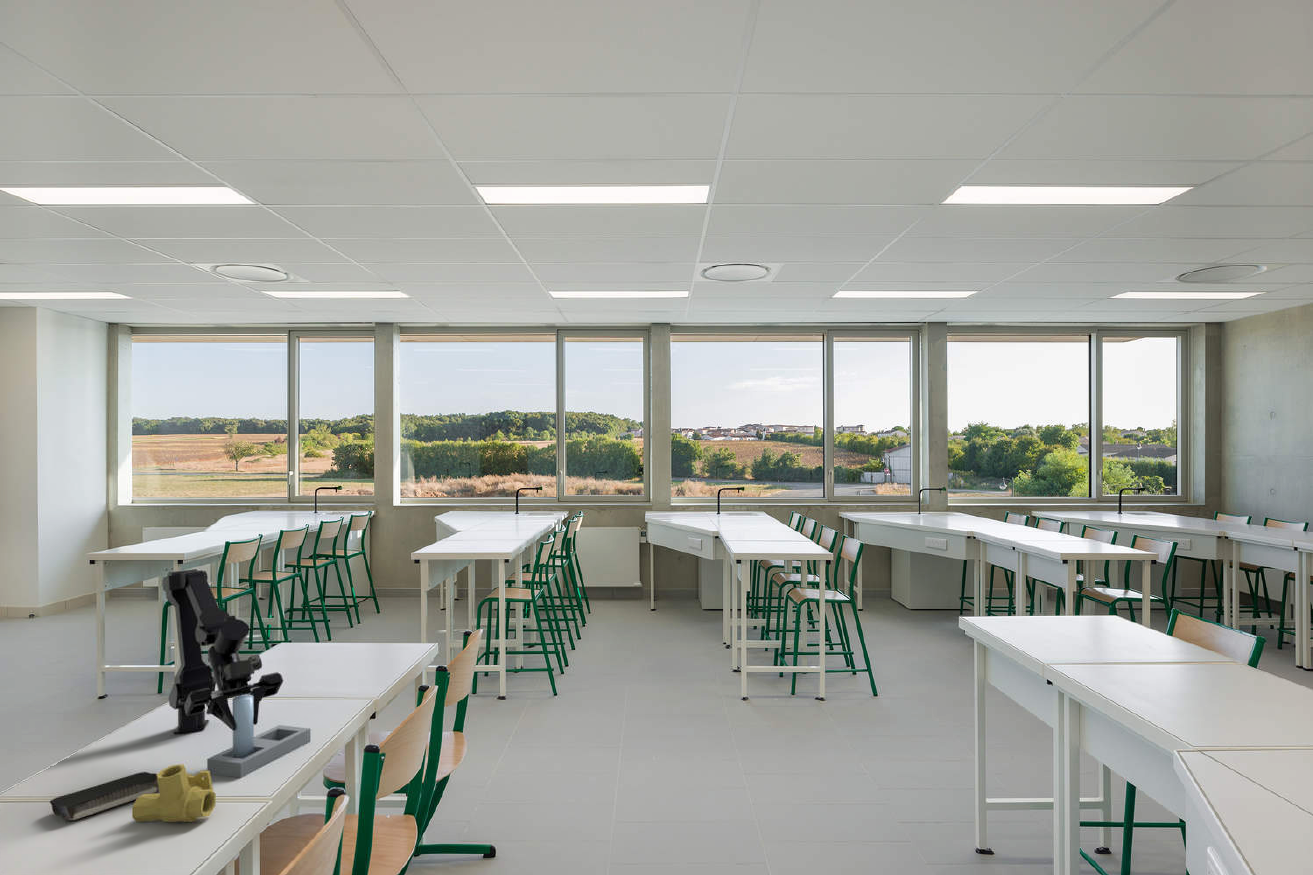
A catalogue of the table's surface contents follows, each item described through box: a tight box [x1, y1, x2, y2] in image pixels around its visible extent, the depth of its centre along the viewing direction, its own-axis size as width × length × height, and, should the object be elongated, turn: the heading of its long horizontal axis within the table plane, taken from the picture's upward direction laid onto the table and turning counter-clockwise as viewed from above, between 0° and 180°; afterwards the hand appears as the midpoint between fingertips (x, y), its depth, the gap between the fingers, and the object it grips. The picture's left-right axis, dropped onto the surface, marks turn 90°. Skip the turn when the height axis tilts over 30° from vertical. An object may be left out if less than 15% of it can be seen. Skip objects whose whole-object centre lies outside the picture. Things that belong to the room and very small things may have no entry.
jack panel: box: [206, 724, 311, 779], centre depth 167 cm, size 20×9×3 cm, turn 163°
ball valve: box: [131, 764, 217, 824], centre depth 141 cm, size 13×10×10 cm
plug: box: [232, 694, 255, 759], centre depth 163 cm, size 4×4×12 cm
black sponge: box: [49, 771, 159, 821], centre depth 146 cm, size 16×8×4 cm, turn 143°
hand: (245, 726), depth 162 cm, fingers closed on plug, 4 cm apart
